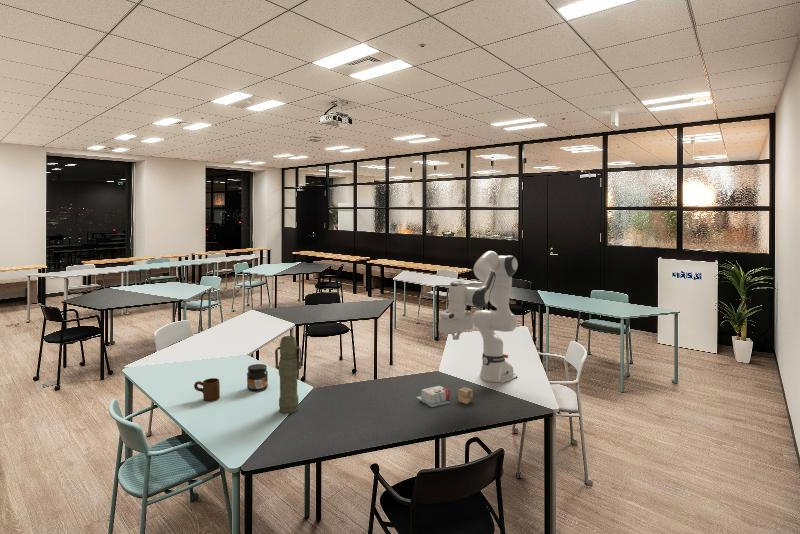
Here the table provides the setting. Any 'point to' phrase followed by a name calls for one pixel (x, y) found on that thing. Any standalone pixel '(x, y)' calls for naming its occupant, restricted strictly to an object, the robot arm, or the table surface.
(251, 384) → the supplement container
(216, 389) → the mug
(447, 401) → the mat
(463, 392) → the oak block
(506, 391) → the table surface
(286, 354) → the thermos
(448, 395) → the ink box
